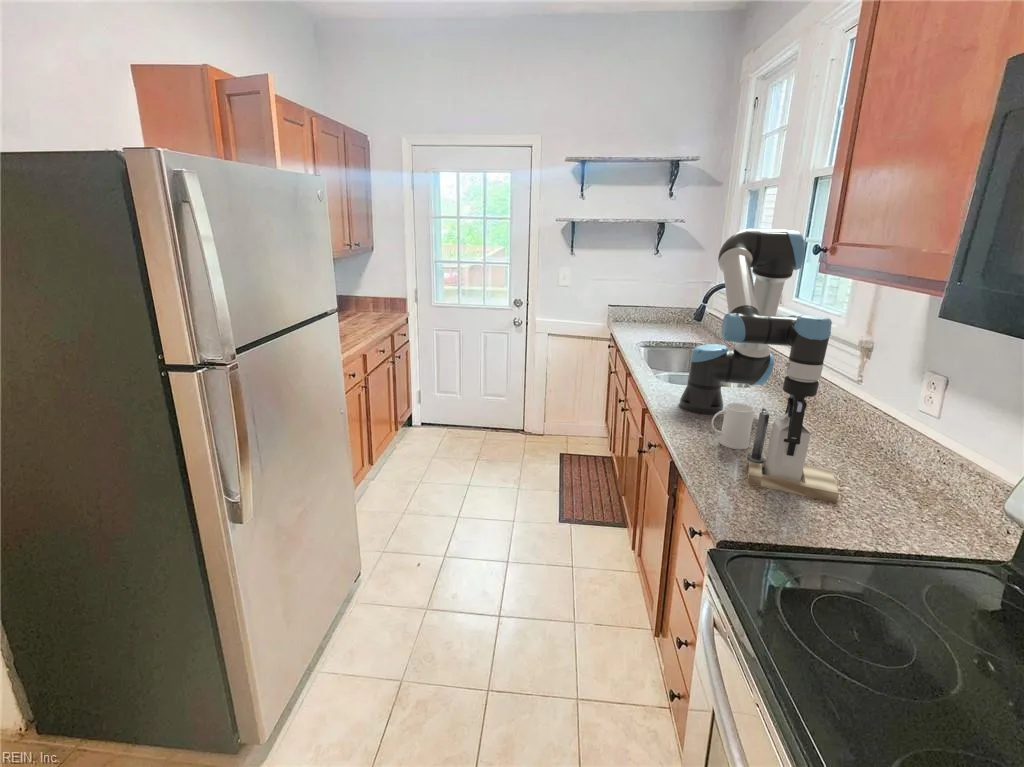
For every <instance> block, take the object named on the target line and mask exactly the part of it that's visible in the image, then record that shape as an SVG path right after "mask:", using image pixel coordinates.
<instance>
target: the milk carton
mask: <svg viewBox="0 0 1024 767" xmlns="http://www.w3.org/2000/svg"><path fill="white" fill-rule="evenodd" d="M789 421H790V418H789V417H788V413H787V414H785V413H784V414H783V415H781V416H779V417H777V418H776V419H774V420H773V423H772V429H771V432H770V438H769V443H768V448H767V454H766V462H765V467H764V468H763V474H764V475H768V476H773V477H777V478H782V479H787V480H792V481H797V482H801V481H802V480H801V476H802V471H803V467H804V465H805V461H806V456H807V453H808V448H809V443H810V439H811V434H812V433H811V432H810V430H809V429H808V428H807V427H806V426H805V424H803V425H802V432H801V438H800V444H798V448H797V452H796V457H795V462H794V466H793V468H792V467H787V466H782V465H781V462H782V457H783V452H784V447H785V443H786V442H784V439H787V437H788V429H789ZM794 439H796V438H794Z"/></svg>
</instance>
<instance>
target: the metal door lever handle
mask: <svg viewBox="0 0 1024 767" xmlns="http://www.w3.org/2000/svg"><path fill="white" fill-rule="evenodd" d="M769 420H770V413H768V412H767V409H766V408H764V407H763V408H762V409H761V412H759V415H758V421H757V426H756V430H755V436H754V441H753V447H752V451H751V454H748V455H747V456H746V458H747V460H748V462H749V461H751V462H754V463H764V462H765V458H764V457H765V456H763V451H764V445H765V442H766V441H765V440H766V436H767V430H768V425H769Z"/></svg>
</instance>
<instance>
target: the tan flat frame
mask: <svg viewBox="0 0 1024 767" xmlns="http://www.w3.org/2000/svg"><path fill="white" fill-rule="evenodd" d="M763 457H764V458H765V462H766V457H767V456H766V457H765V456H763ZM765 462H764V463H754V462H751V461H749V460H748V470H747V484H748V485H753V486H757V487H761V488H767V489H773V490H776V491H780V492H781V491H782V492H785V493H790V494H794V495H800V496H805V497H808V498H809V497H810V498H814V499H818V500H822V501H823V500H824V501H828V502H833V503H838V498H839V495H840V492H839V489H838V485H837V483H836V479H835V477H834V473H833V470H832V469H828V468H822V467H817V466H813V465H812V466H811V465H807V464H804V467H803V471H802V476H801V480H800V482H797V481H792V480H787V479H782V478H777V477H773V476H768V475H765V474H764V473H763V469H764V467H765Z"/></svg>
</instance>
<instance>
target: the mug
mask: <svg viewBox="0 0 1024 767" xmlns="http://www.w3.org/2000/svg"><path fill="white" fill-rule="evenodd" d="M755 410H756V409H755V407H752V406H751V405H748V404H745V403H740V402H729V403H727V404H725V408H724V409H723V410H722V411H719V412H718V413H716V414H713V415H714V416H713V417H712V418H711V427H712V430H713V431H714V432H715V433H716V434H717V435H720V437H719V440H718V442H719V444H721V445H722V446H724V447H725V448H728V449H733V450H747V449H748V448H749V447H750V443H749V442H750V438H751V432H752V426H753V420H754V417H755V416H754V415H755ZM722 414H724V415H723V420H722V427H721V430H718V429H717V428H716V427H715V425H714V422H715V419H716V418H717V417H718V416H719V415H722Z"/></svg>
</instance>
